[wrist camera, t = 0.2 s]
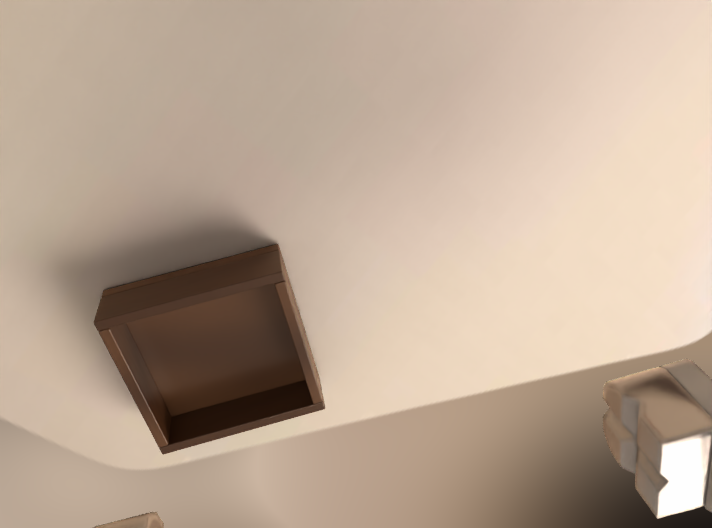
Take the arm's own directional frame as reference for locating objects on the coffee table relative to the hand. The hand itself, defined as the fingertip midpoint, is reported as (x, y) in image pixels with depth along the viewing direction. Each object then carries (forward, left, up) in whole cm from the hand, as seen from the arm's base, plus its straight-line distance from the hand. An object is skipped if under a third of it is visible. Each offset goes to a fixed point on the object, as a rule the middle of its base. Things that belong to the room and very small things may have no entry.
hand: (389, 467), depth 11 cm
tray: (+9, -6, -18) cm, 21 cm away
